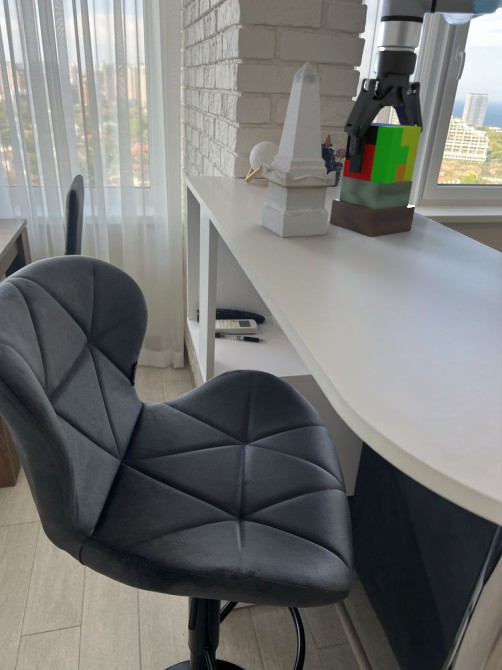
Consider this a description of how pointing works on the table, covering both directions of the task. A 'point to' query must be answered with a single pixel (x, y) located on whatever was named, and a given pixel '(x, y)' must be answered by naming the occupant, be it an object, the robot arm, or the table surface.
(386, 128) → the puzzle toy
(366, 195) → the block stack
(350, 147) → the robot arm
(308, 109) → the miniature monument
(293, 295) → the table surface
